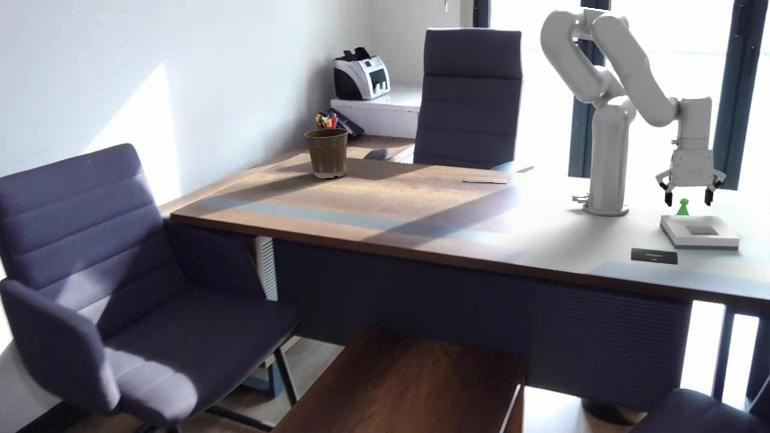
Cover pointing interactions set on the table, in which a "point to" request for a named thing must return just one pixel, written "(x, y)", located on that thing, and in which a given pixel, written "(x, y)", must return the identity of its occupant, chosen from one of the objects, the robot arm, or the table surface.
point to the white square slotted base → (699, 232)
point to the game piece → (683, 207)
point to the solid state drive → (654, 256)
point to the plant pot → (327, 149)
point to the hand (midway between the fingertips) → (688, 205)
